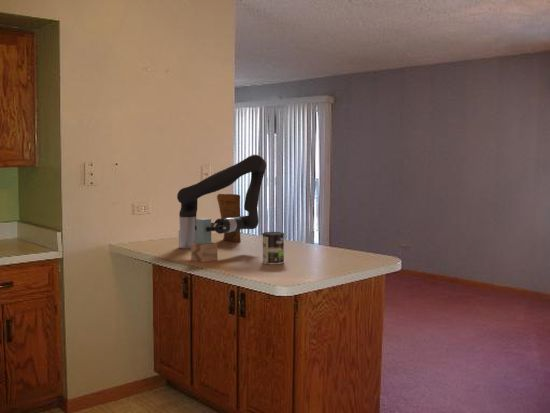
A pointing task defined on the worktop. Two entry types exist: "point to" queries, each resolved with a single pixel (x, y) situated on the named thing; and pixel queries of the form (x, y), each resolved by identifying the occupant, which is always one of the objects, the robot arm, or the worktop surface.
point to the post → (203, 231)
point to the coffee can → (273, 248)
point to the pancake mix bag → (230, 213)
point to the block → (203, 252)
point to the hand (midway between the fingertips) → (201, 228)
